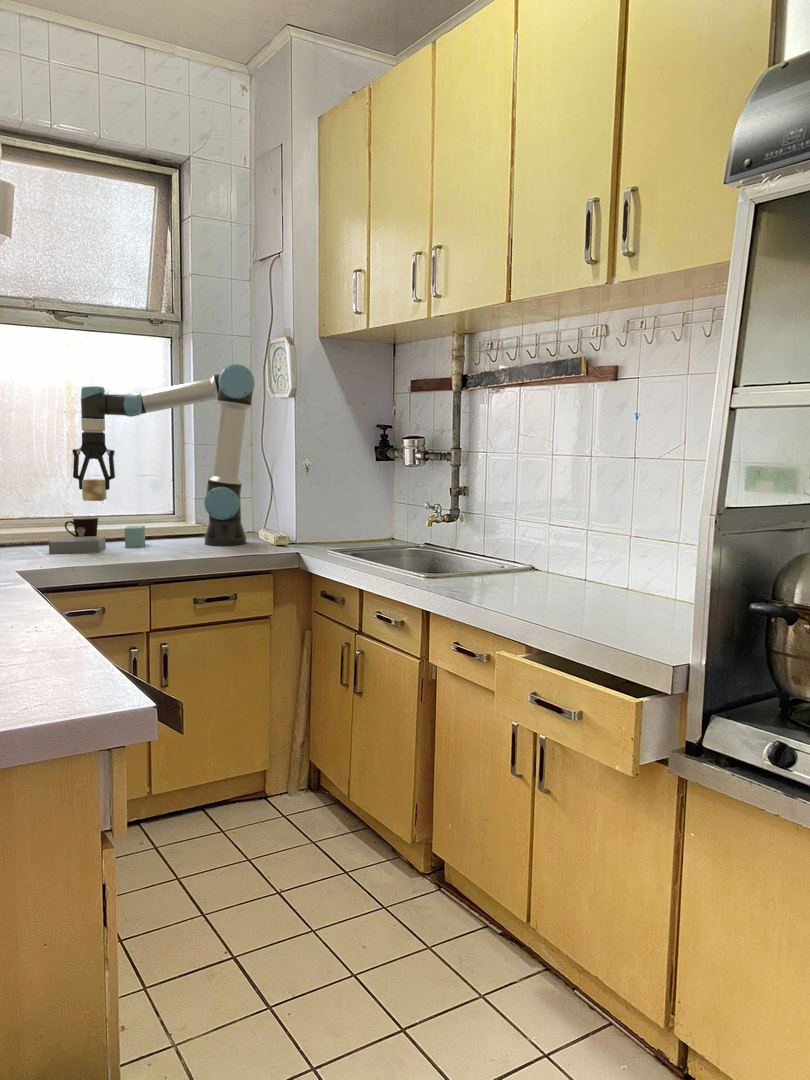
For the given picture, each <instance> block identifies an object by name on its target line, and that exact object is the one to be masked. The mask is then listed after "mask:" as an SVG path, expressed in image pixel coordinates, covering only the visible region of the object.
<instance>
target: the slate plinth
mask: <svg viewBox="0 0 810 1080" xmlns="http://www.w3.org/2000/svg"><path fill="white" fill-rule="evenodd" d="M106 546H107V545H106V536H104V535H102V536H101V535H100V536H99V535H97V536H87V537H75V536H56V537H55V538H54V539H52V540H50V541H48V554H49V555H51V554H52V555H58V554H98V553H101V552H102V551H103V550H104V549H106Z"/></svg>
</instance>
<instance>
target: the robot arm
mask: <svg viewBox="0 0 810 1080" xmlns="http://www.w3.org/2000/svg"><path fill="white" fill-rule="evenodd" d="M254 388H255V379H254V375H253V373H252V371H251V370H250V369H249V368H248V367H246V366H244V365H243V364H242V365H241V364H239V363H238V364H229V365H227V366H226V367H224V368H223V369H222V371H220V373H218V374H213V375H212V376H211V377H210V378H207V379H203V380H202V379H201V380H196V381H193V382H186V383H182V384H178V385H177V384H176V385H171V386H167V387H162V388H156V389H153V390H147V391H142V392H137V393H136V392H135V393H131V392H129V393H126V392H125V393H123V392H106V391H105V388H104V387H103V386H99V385H85V386H82V387H81V392H80V407H81V408H80V409H81V411H80V413H81V419H80V420H81V422H80V423H81V430H82V431H83V432H81V446H80V447H79V448H74V449H72V450H71V451H72V454H73V468H72V469H73V471H72V478H74V479H77V480H78V489H79V490H81V491H82V493H81V494H82V495H81V496H82V500H83V480H85V475H86V473H87V470H88V466H89V463H90V460H97V461H98V463H99V466H100V469H101V472H102V475H103V477H104V478H103V479H105V480H104V481H103V501H106V500H107V499H108V498H107V491H109V490H110V487H111V486H110V483H111V482H110V481H111V480H112V479H115V478H116V474H115V473H116V472H115V463H114V462H115V460H114V456H115V453H116V452H115V449H110V448H107V446H106V433H105V432H106V420H105V419H106V417H105V416H106V415H108V416H109V415H110V416H126V417H129V418H130V417H137V416H140V415H143V414H148V413H152V412H153V413H154V412H157V411H158V412H159V411H162V410H167V409H174V408H178V407H183V406H190V405H192V404H193V405H194V404H198V403H203V402H209V401H214V400H216V401H217V403H218V405H219V406H220V407H221V408H220V413H219V422H218V431H217V439H216V449H215V456H214V457H215V458H214V465H213V466H214V467H213V474H212V475H211V476H210V477H209V478H208V480H207V487H206V493H205V494H206V495H205V497H204V501H203V503H204V504H203V505H204V509H205V510H206V512H207V513H208V526H207V528H206V533H205V534H204V535H205V536H204V544H205V545H207V546H218V547H220V546H222V547H223V546H237V545H245V544H247V536H246V533H245V529H244V527H243V523H242V516H241V515H242V508H241V507H242V504H241V502H242V501H241V492H242V485H243V484H242V482H241V481H240V479H239V473H240V472H239V471H240V465H241V464H240V463H241V455H242V448H243V447H242V446H243V439H244V430H245V429H244V428H245V422H246V414H247V410H248V409H250V408H251V407H252V400H253V394H254ZM81 453H82V454H83V455H84V459H83V462H82V463H83V464H82V466H81V469H80V472H79V465H80V464H79V463H80V454H81ZM105 454H106V455H107V456H108V463H109V464H108V465H109V466H108V467H109V472H108V469H107V466H106V464H105V460H104V457H103V456H104V455H105Z"/></svg>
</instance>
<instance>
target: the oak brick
mask: <svg viewBox="0 0 810 1080" xmlns="http://www.w3.org/2000/svg"><path fill="white" fill-rule="evenodd" d="M104 480H105V478H103V479H102V478H86V479H85V478H84V479H83V499H82V500H83V501H85V502H86V501H87V502H88V501H89V502H102V501H104V500H103V481H104Z"/></svg>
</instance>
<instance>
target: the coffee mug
mask: <svg viewBox="0 0 810 1080" xmlns="http://www.w3.org/2000/svg"><path fill="white" fill-rule="evenodd" d="M69 523H70V524H72V525H73V528H74V533H73V532H72V531H70V530H69V529H68V527H67V525H68V524H69ZM98 524H99V517H98V516H79V517H73V518H72V520H69V521H68V520H67V521H66V522H65V524H64V529H65V530H66V531H67V533H69V534H70V535H71V536H72V537H87V536H98Z"/></svg>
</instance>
